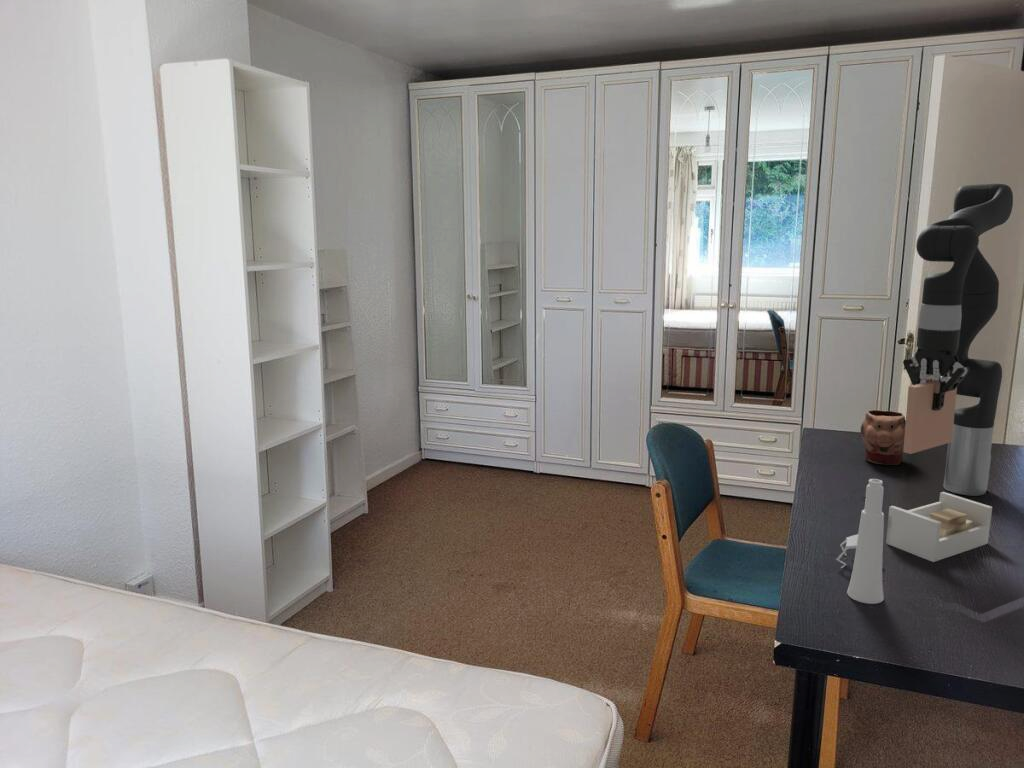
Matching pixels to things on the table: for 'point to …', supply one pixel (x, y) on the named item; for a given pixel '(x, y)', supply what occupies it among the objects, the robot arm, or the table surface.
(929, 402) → the board
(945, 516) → the offcut small
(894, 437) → the decorative planter
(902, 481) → the table surface
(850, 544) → the origami figure
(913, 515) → the rack
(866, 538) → the cosmetic bottle
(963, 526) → the offcut mid
